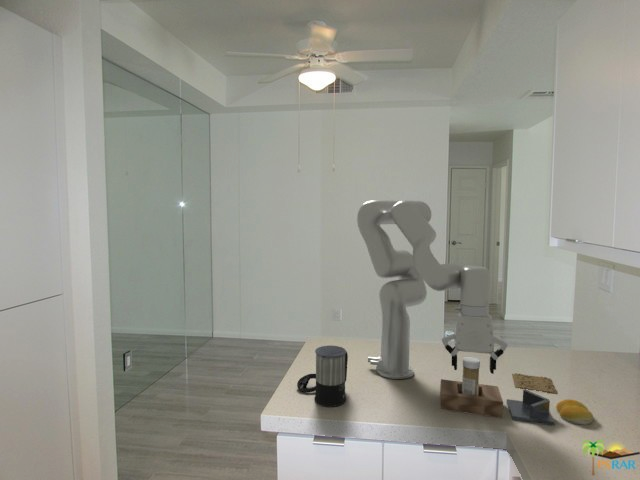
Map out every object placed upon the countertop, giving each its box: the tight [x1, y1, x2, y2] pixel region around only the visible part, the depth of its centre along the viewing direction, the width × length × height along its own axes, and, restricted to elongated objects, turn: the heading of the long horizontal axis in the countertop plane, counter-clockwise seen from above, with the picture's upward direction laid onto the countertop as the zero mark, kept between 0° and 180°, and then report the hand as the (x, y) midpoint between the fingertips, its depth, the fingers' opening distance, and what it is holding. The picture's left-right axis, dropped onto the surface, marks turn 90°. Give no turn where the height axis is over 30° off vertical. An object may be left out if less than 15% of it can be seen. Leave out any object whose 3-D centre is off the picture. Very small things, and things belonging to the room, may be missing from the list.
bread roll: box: [555, 398, 594, 425], centre depth 111 cm, size 8×9×4 cm
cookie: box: [511, 373, 558, 395], centre depth 132 cm, size 12×12×1 cm
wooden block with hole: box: [439, 378, 504, 419], centre depth 116 cm, size 16×10×4 cm, turn 74°
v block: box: [506, 389, 555, 426], centre depth 112 cm, size 10×11×4 cm
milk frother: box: [296, 345, 349, 408], centre depth 121 cm, size 14×16×15 cm
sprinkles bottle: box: [461, 356, 481, 396], centre depth 116 cm, size 5×5×14 cm
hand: (473, 370), depth 115 cm, fingers open, 9 cm apart
